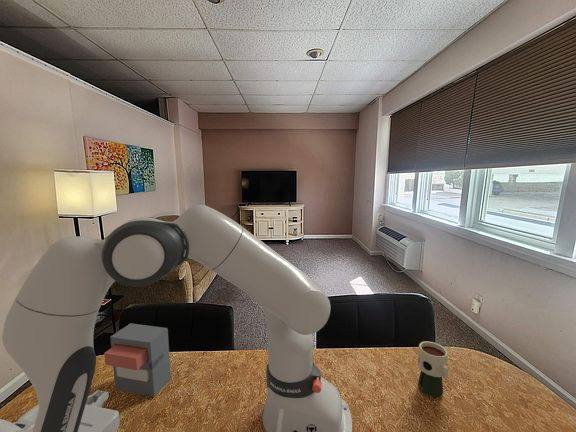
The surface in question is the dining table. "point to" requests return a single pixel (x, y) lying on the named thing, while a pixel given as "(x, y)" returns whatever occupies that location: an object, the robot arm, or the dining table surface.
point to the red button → (126, 356)
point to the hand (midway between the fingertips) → (103, 393)
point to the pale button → (134, 373)
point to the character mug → (432, 368)
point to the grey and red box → (157, 358)
